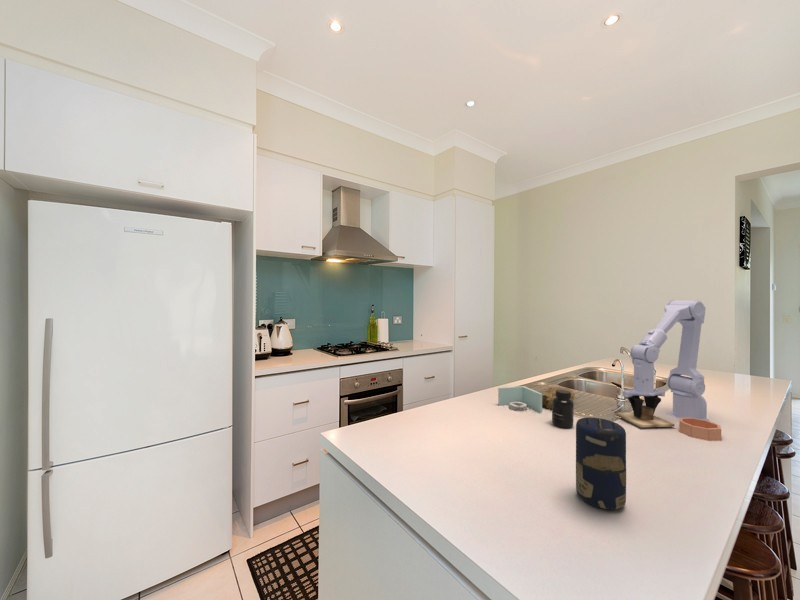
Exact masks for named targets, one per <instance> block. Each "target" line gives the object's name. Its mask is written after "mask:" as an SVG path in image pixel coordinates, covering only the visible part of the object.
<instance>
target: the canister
mask: <svg viewBox="0 0 800 600" xmlns="http://www.w3.org/2000/svg"><path fill="white" fill-rule="evenodd" d="M575 489H576V492H577V495H578V496H579V497H580V498H581V499H582V500H583V501H584V502H586V503H587V504H589V505H592V506H595V508H596V507H597V508H601V509H604V510H618V509H621V508H623V507H624V506H625V505H626V502H627V432H626V429H625V428H624V427H623V425H621V424H619V423H617V422H615V421H612V420H610V419H605V418H602V417H601V418H600V417H591V416H589V417H582V418H579V419H578V420H577V421H576V424H575Z"/></svg>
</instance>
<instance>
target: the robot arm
mask: <svg viewBox="0 0 800 600" xmlns="http://www.w3.org/2000/svg"><path fill="white" fill-rule="evenodd" d="M705 316H706V306H705V304H704V303H703V302H702V301H701V300H699V299H697V300H675V299H672V300H669V301H667V303H666V305H665V306H664V314H663V316H662V317H661V319H660V320H659V322H658V324H657V326H655V328H651V329H649V330H648V331H647V333H646V334H644V336H643V338H642V339H641V340H640V342H638V344H635V345H633V346H632V347H631V348H630V351H629V356H630V358H631V361H632V362H631V363H632V364H633V388H632V389H625V390H622V391H621V392H622V393H621V394H622V397H625V398H627V400H628V402H629V403H630V406H631V408H632V412H634V416H636V417H638V418H640V417H641V409H642V405H643V403H644V405H645V406H648V407H650V408H653V409H654V413H655V411H656V409H657V407H658V405H659V404H660V403H661V401H662V398H661V397H666V391H665V390H662V389H654V388H655V387H654V384H655V383H654V379H655V377H654V373H655V372H654V371H655V370H654V369H655V362H656V361H657V360H658V359H659V354H660V351H661V349H660V348H661V347H662V346H663V345H664V343H665V342H666V340H667V339H668V336H667V333H668V332H669V331H670V330H671V329H672V328H673V327H674V326H675V324H677V323H679V324H680V325H681V326H682V328H681V337H680V343H679V344H680V346H679V353H678V361H677V366H676V367H673V369H671V370H670V372H669V375H668V377H667V379H666V386H667V388H668V389H670V393H672V412H666V415H669V416H671V417H674V418H676V419H679V418H696V419H702V420H707V421H710V420H709V419H707V412H708V411H707V409H708V408H707V407H708V406H707V405H708V404H707V400H706V398H705V397H704V396H702V395H703V394H704V393H705V391H706V385H705V376H704V375H703V374H702V373H700V371H698V369H697V367H698V366H697V363H698V356H699V348H700V340H701V332H702V325H703V324H704V323H705ZM641 397H643V399H642V398H641ZM654 413H653V415H654ZM654 416H655V415H654Z"/></svg>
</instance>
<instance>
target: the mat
mask: <svg viewBox="0 0 800 600" xmlns="http://www.w3.org/2000/svg"><path fill="white" fill-rule="evenodd" d="M619 420H621V421H622V422H624V423H626V424H629V425H631V426H632V427H634V428H637V429H638V430H640V431H641V430H644V431H645V430H646V431H647V430H648V431H651V430H677V428H676V427H675V426H674V427H639V426H637V425H635V424H633V423H631V422H629V421H627V420H625V419H623V418H620V419H619Z"/></svg>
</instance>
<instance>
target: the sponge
mask: <svg viewBox="0 0 800 600" xmlns="http://www.w3.org/2000/svg"><path fill="white" fill-rule="evenodd" d="M556 390H566V391H570V392H571V398H570V399H571V400H572V401H573V402H574V399H575V392H574V390H573V389H571V388H569V387H560V386H553V387H549V388H548V389H546V390H544V391H543V392H541V394H542V407H545V408H547V409H548V410H552V400H553V399H554V398H555V397H556V396H555V394H556Z"/></svg>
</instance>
